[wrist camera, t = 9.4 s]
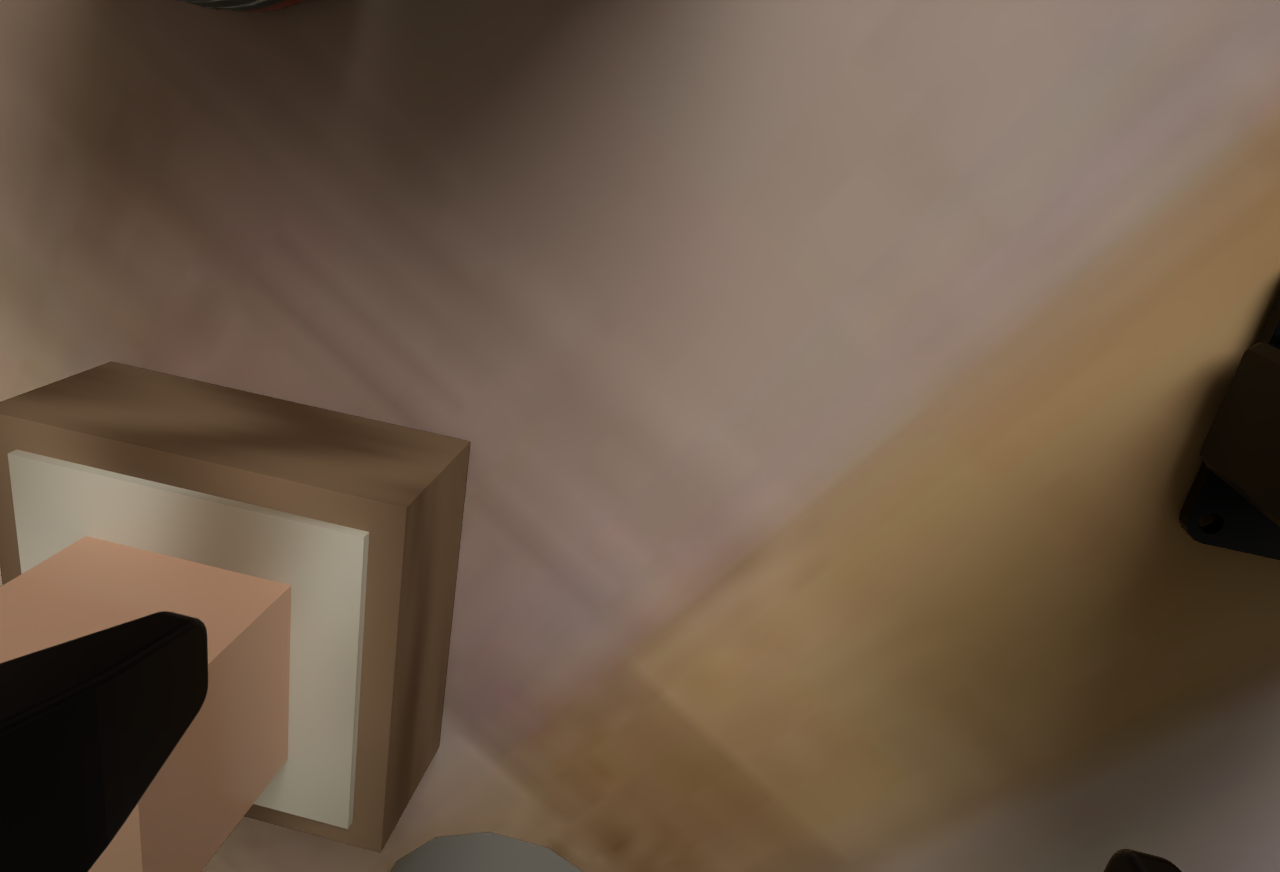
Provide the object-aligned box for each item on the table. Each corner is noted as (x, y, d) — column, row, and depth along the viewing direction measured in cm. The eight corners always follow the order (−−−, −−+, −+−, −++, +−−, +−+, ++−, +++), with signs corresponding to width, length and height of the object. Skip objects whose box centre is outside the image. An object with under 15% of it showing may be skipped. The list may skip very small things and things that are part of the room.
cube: (287, 759, 21) (147, 940, 16) (100, 710, 21) (-89, 874, 17) (291, 585, 19) (133, 734, 15) (85, 535, 20) (-132, 665, 15)
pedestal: (470, 441, 22) (401, 512, 18) (439, 746, 26) (376, 860, 22) (110, 361, 23) (-30, 412, 19) (130, 667, 26) (16, 763, 23)
